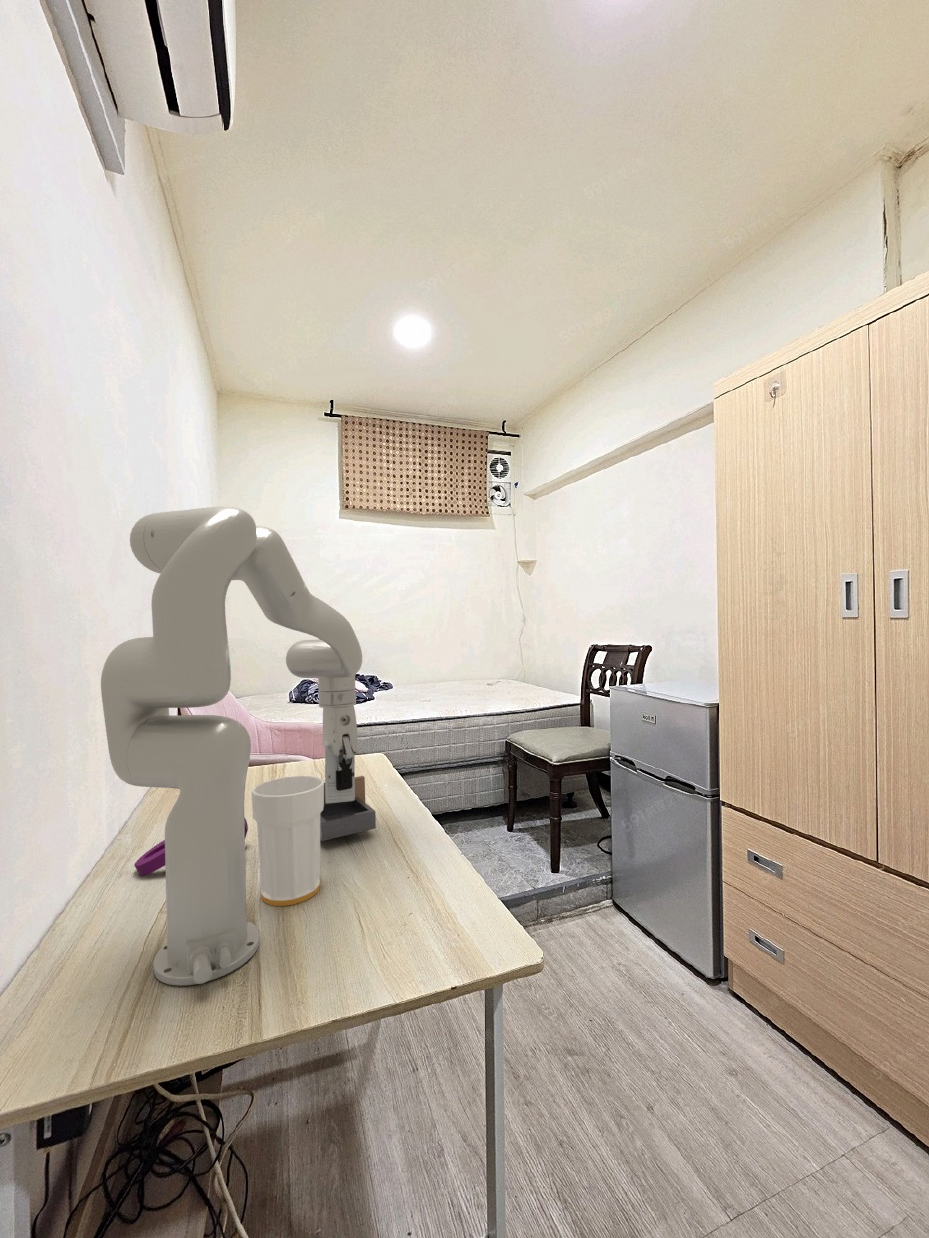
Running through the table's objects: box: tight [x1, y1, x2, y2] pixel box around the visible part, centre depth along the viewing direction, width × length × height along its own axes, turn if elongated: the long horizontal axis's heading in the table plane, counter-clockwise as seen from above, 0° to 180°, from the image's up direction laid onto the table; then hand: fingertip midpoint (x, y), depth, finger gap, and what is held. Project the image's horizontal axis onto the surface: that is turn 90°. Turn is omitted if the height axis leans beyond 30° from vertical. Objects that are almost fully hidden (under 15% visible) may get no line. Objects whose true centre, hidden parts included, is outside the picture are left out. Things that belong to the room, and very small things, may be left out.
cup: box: [251, 775, 325, 907], centre depth 85 cm, size 11×11×17 cm
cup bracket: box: [320, 775, 377, 842], centre depth 108 cm, size 14×16×9 cm
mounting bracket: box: [133, 816, 249, 877], centre depth 97 cm, size 10×8×18 cm
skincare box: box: [324, 741, 356, 804], centre depth 107 cm, size 6×4×12 cm
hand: (339, 784), depth 107 cm, fingers closed on skincare box, 5 cm apart
